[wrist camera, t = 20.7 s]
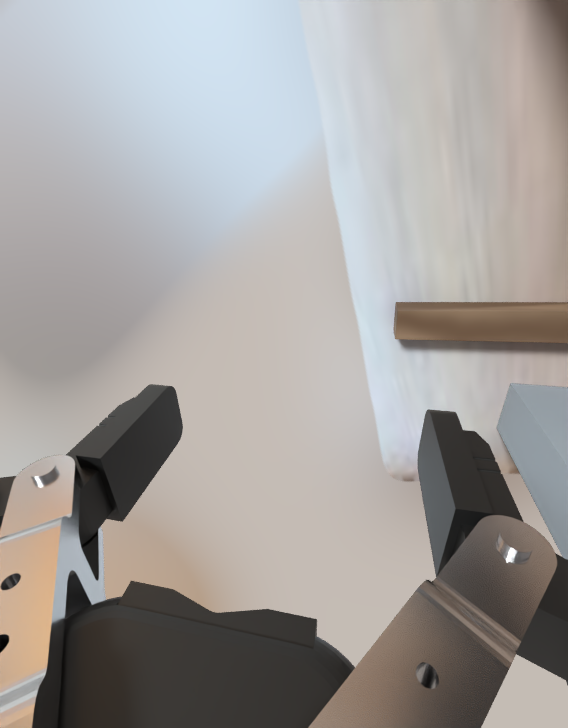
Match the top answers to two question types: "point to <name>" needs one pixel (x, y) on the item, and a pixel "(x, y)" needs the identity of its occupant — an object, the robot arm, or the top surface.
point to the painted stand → (540, 450)
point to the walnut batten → (482, 321)
